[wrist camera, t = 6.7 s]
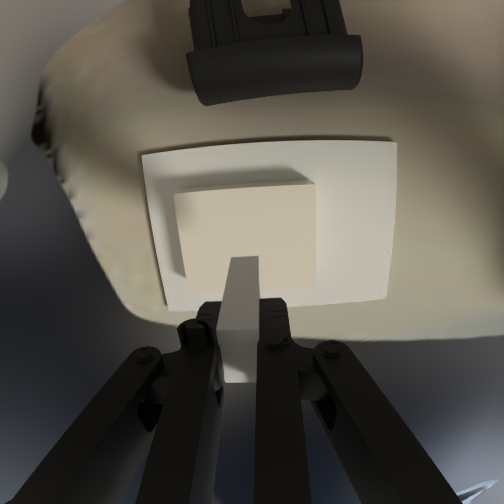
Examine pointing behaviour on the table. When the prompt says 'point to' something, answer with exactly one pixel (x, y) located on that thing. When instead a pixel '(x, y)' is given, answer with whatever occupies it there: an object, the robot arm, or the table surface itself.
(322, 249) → the mat
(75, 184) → the table surface
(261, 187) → the tile
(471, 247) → the table surface
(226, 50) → the end cap
